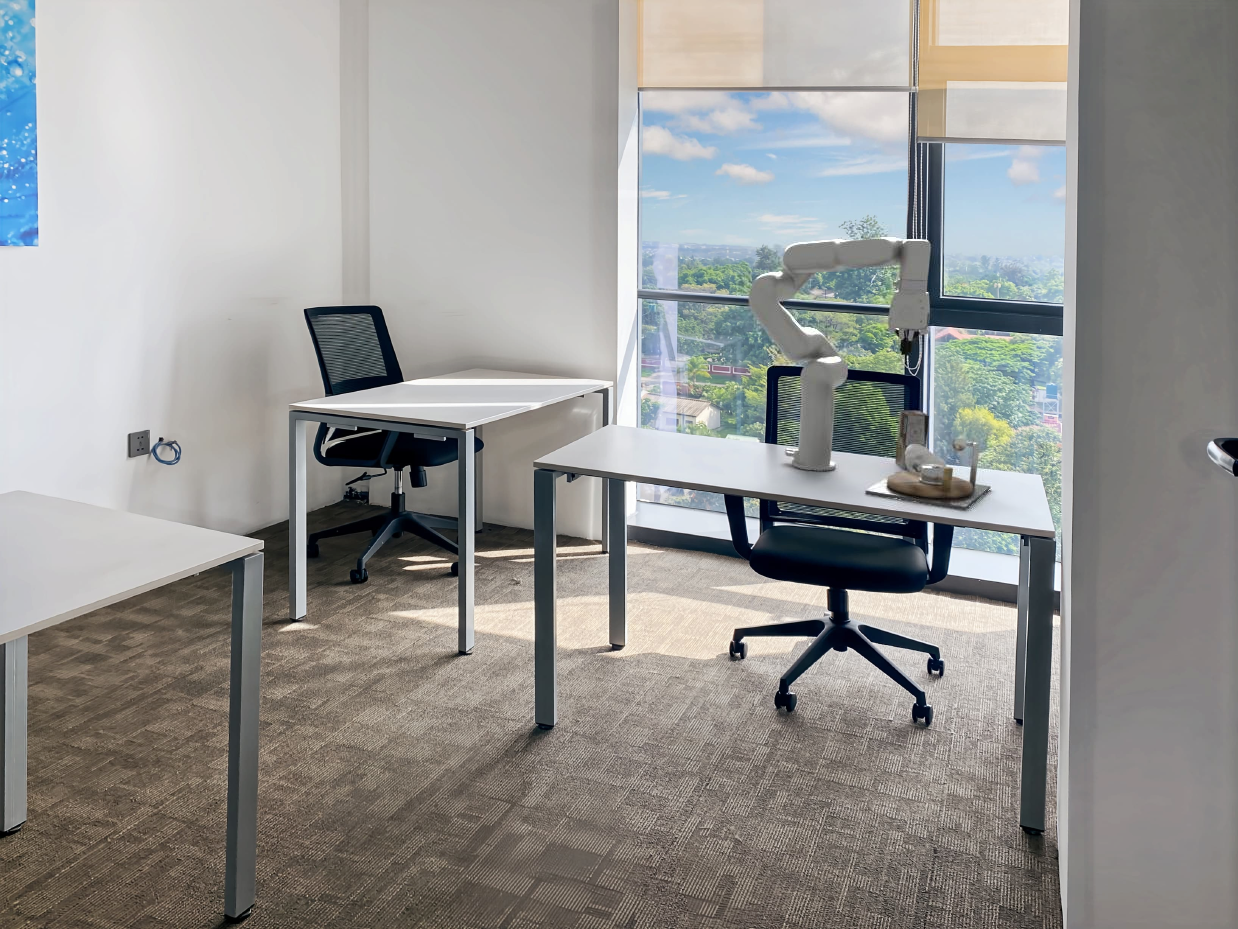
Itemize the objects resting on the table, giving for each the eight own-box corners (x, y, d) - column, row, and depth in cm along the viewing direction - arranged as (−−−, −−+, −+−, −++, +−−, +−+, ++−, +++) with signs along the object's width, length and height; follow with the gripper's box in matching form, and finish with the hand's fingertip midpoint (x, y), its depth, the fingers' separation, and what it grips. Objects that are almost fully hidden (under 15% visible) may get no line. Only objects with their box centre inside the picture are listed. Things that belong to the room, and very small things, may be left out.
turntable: (909, 498, 266) (911, 470, 264) (873, 477, 287) (875, 451, 285) (988, 497, 270) (991, 469, 268) (947, 476, 291) (950, 450, 289)
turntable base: (865, 494, 275) (869, 441, 272) (896, 475, 296) (900, 425, 293) (965, 510, 262) (971, 455, 258) (990, 489, 283) (996, 438, 280)
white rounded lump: (905, 440, 301) (947, 446, 300) (899, 469, 303) (941, 475, 302) (909, 445, 294) (952, 451, 294) (903, 474, 297) (946, 480, 296)
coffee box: (924, 470, 304) (930, 415, 300) (902, 469, 304) (907, 415, 300) (915, 462, 312) (920, 410, 309) (894, 462, 312) (899, 409, 309)
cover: (926, 485, 274) (928, 470, 273) (914, 478, 282) (915, 463, 281) (954, 485, 275) (956, 470, 274) (941, 477, 283) (942, 463, 282)
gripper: (880, 285, 280) (874, 353, 284) (936, 289, 272) (928, 358, 277) (889, 284, 286) (883, 350, 290) (944, 287, 278) (937, 356, 283)
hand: (905, 354), depth 283 cm, fingers closed
